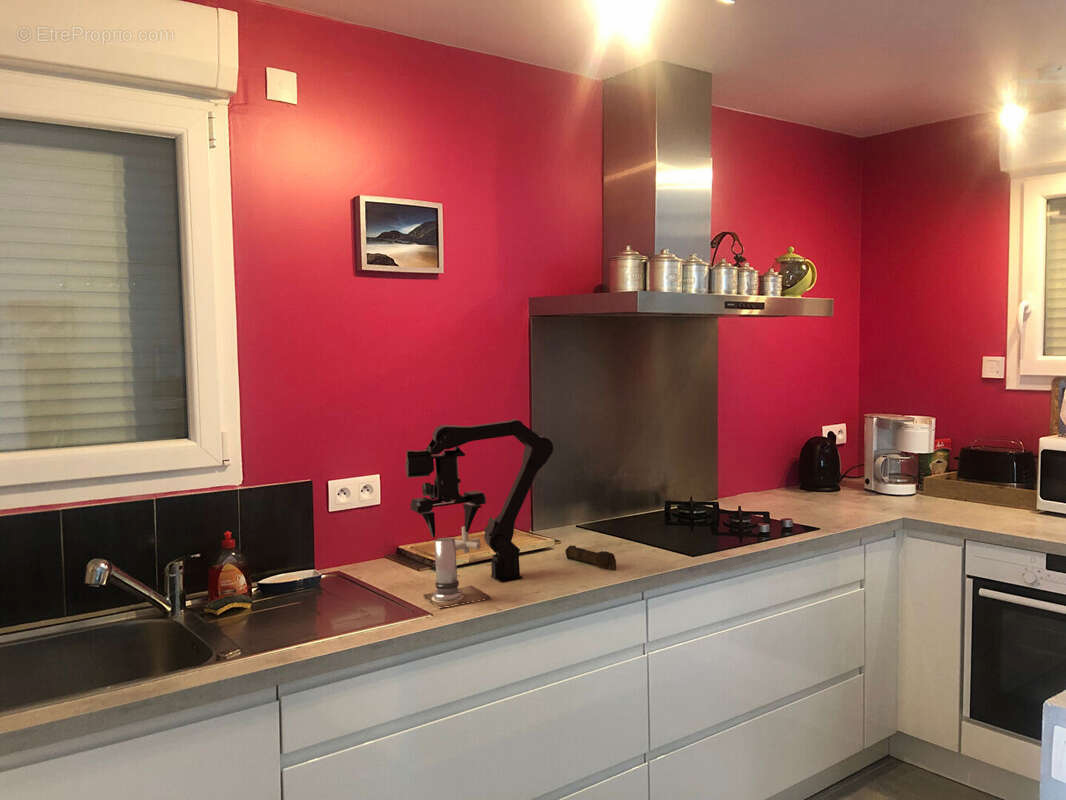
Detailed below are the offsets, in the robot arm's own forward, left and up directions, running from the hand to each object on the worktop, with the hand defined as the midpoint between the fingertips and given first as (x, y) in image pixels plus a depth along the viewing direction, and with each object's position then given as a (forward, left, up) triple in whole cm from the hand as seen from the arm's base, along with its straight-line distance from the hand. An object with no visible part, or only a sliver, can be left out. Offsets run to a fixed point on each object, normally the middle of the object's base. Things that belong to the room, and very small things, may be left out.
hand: (450, 534), depth 220 cm
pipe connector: (-12, -19, -13) cm, 26 cm away
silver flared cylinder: (+6, +12, -12) cm, 18 cm away
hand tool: (-40, +5, -13) cm, 42 cm away
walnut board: (+4, +12, -13) cm, 18 cm away
